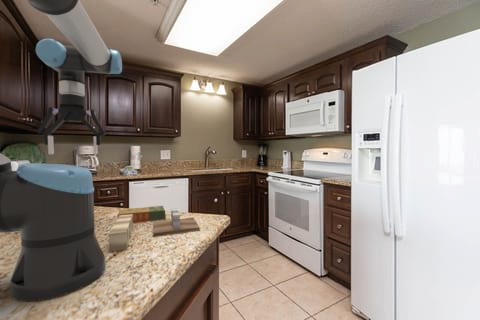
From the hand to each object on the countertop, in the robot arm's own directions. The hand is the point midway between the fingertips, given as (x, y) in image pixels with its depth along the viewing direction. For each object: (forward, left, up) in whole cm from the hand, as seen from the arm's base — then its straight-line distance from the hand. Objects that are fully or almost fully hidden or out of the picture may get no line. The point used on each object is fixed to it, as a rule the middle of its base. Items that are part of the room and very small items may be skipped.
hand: (74, 154), depth 83 cm
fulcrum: (-21, -34, -25) cm, 47 cm away
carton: (-6, -23, -26) cm, 35 cm away
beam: (-25, -18, -25) cm, 40 cm away
